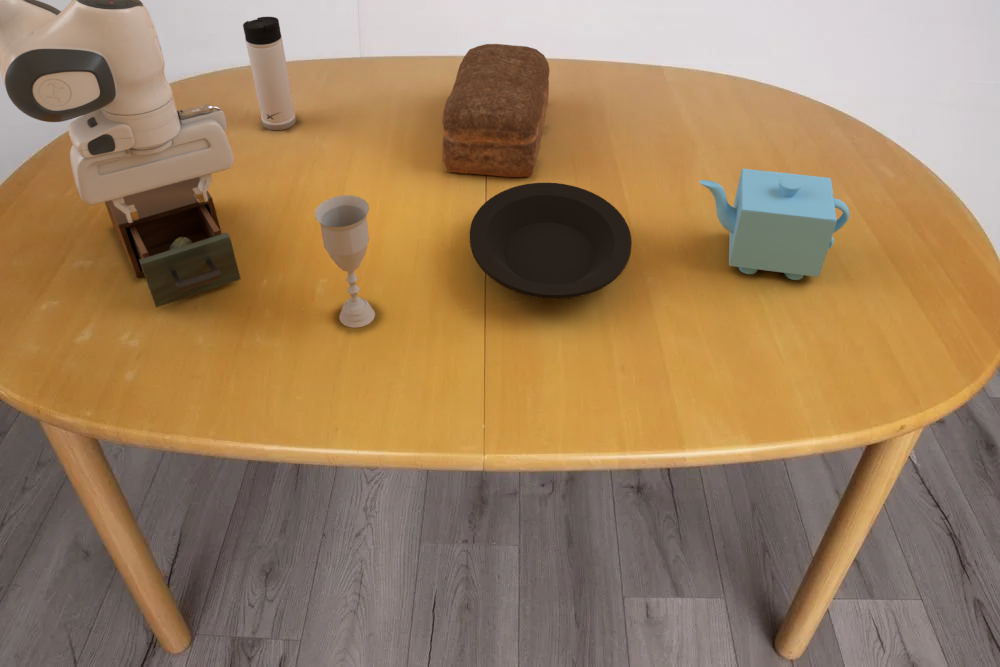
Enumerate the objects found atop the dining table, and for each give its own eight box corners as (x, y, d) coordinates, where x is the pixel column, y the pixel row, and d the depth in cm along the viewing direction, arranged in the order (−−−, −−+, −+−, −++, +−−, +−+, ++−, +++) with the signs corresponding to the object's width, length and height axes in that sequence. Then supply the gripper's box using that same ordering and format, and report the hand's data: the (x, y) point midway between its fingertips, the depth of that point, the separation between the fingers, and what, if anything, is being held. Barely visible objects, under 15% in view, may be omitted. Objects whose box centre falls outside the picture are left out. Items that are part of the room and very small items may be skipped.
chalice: (361, 338, 121) (346, 233, 109) (322, 322, 123) (303, 217, 111) (391, 308, 126) (380, 204, 113) (352, 293, 128) (337, 189, 116)
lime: (196, 254, 132) (188, 227, 128) (209, 269, 129) (202, 242, 126) (167, 265, 130) (159, 238, 126) (181, 281, 127) (172, 254, 123)
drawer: (250, 295, 126) (239, 252, 121) (164, 324, 122) (149, 280, 116) (212, 232, 138) (201, 191, 132) (132, 257, 133) (117, 215, 128)
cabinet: (225, 249, 136) (212, 197, 129) (137, 277, 131) (118, 225, 124) (198, 203, 145) (184, 153, 139) (114, 228, 140) (95, 177, 133)
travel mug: (275, 135, 162) (254, 30, 148) (256, 122, 165) (234, 18, 152) (303, 123, 165) (286, 20, 151) (284, 111, 168) (266, 8, 155)
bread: (551, 99, 172) (554, 34, 163) (535, 184, 150) (537, 114, 141) (465, 93, 174) (464, 29, 165) (437, 176, 151) (433, 107, 142)
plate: (642, 322, 124) (646, 292, 120) (473, 328, 123) (472, 297, 119) (612, 209, 144) (615, 180, 140) (467, 213, 143) (467, 184, 139)
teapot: (830, 244, 137) (854, 168, 128) (835, 288, 129) (861, 211, 120) (688, 227, 141) (702, 152, 131) (685, 269, 132) (699, 192, 123)
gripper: (215, 91, 118) (234, 179, 127) (54, 128, 110) (87, 219, 119) (229, 110, 114) (248, 200, 123) (64, 150, 106) (97, 243, 115)
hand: (168, 210), depth 121 cm, fingers open, 8 cm apart
